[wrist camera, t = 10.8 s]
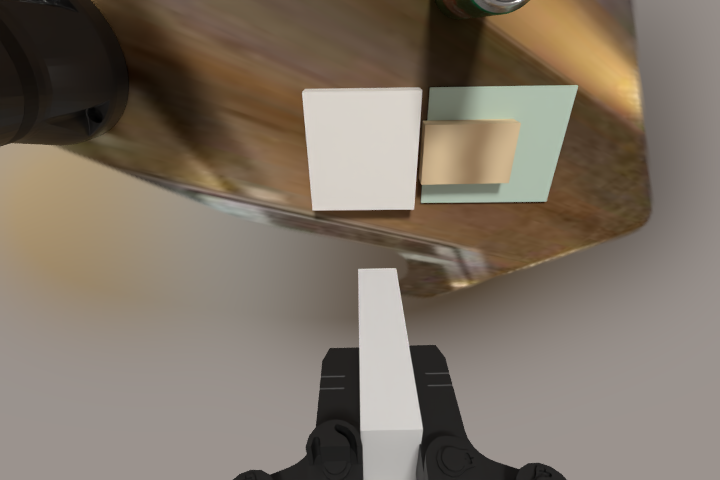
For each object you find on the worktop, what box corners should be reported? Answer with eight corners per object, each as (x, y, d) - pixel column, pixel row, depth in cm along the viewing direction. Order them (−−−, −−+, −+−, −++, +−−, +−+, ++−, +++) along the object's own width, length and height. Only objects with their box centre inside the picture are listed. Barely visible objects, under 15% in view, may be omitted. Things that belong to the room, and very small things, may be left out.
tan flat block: (418, 177, 38) (421, 184, 37) (422, 120, 35) (425, 125, 34) (502, 176, 38) (508, 183, 36) (513, 118, 35) (521, 123, 33)
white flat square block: (314, 202, 40) (312, 210, 38) (305, 89, 34) (302, 92, 32) (411, 201, 40) (414, 209, 38) (419, 87, 34) (422, 90, 32)
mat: (420, 201, 40) (420, 202, 40) (429, 87, 34) (430, 87, 34) (545, 200, 40) (546, 201, 40) (576, 85, 34) (578, 85, 34)
